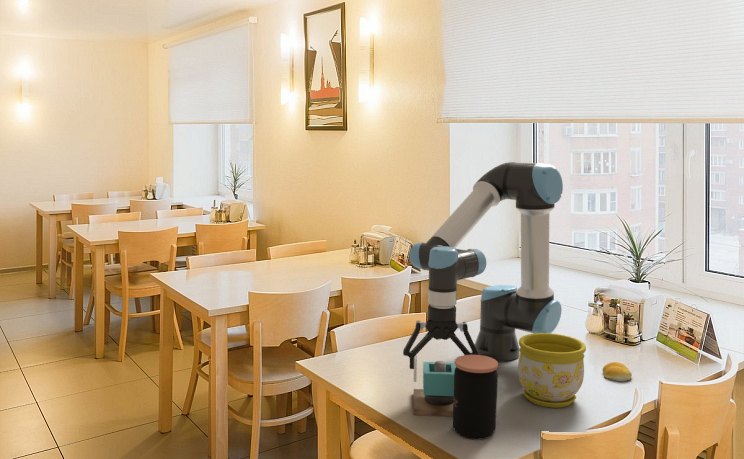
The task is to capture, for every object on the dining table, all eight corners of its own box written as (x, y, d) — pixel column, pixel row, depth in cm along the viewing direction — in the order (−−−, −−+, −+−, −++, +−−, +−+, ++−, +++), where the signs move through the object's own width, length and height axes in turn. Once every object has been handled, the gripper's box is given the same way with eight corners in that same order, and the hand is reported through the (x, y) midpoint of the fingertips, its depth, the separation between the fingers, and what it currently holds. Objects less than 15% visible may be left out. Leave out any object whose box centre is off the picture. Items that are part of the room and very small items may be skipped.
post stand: (463, 395, 187) (464, 354, 185) (467, 416, 173) (468, 373, 171) (413, 393, 188) (414, 353, 186) (413, 414, 174) (414, 371, 172)
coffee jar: (464, 417, 172) (466, 351, 170) (502, 428, 166) (505, 360, 164) (444, 432, 164) (446, 363, 161) (484, 444, 158) (487, 372, 155)
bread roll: (605, 381, 200) (606, 368, 199) (600, 370, 208) (601, 358, 208) (634, 383, 198) (635, 370, 198) (628, 372, 207) (629, 360, 206)
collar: (455, 383, 184) (456, 362, 183) (457, 396, 175) (458, 374, 174) (422, 382, 184) (423, 361, 183) (423, 395, 175) (424, 373, 175)
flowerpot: (539, 381, 198) (541, 328, 196) (594, 399, 185) (598, 343, 183) (503, 397, 186) (505, 341, 183) (560, 418, 173) (563, 358, 170)
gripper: (487, 302, 179) (484, 377, 182) (395, 300, 180) (394, 374, 184) (490, 309, 172) (487, 387, 175) (394, 307, 173) (393, 384, 176)
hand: (440, 381), depth 179 cm, fingers open, 13 cm apart
